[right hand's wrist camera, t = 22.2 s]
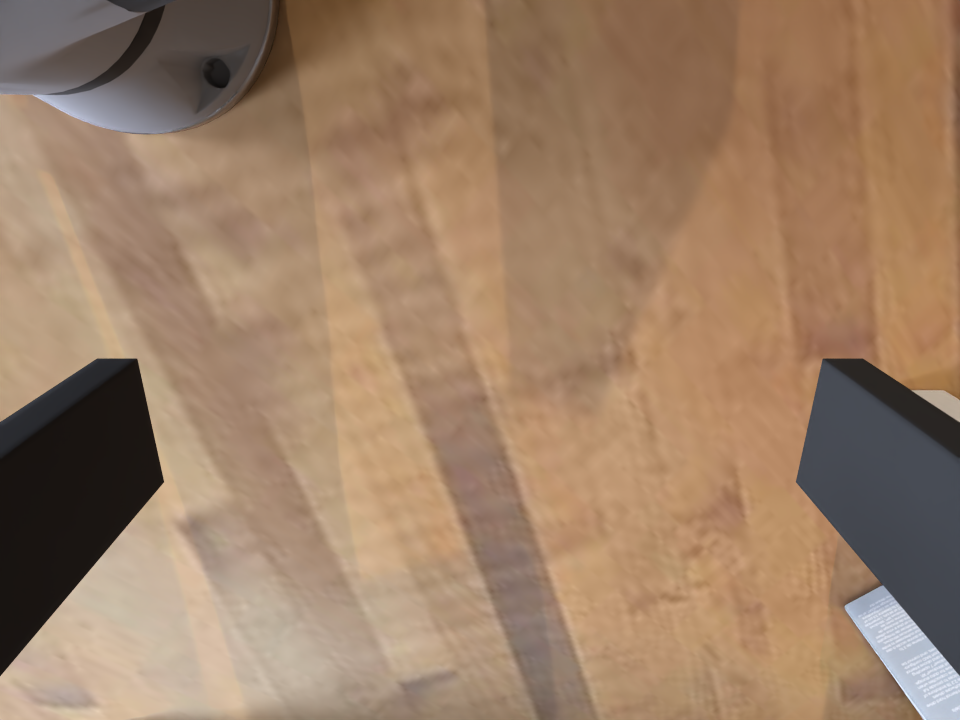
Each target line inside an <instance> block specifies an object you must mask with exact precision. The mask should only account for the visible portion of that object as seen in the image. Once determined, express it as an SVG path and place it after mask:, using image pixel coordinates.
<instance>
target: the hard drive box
mask: <svg viewBox="0 0 960 720" xmlns="http://www.w3.org/2000/svg"><path fill="white" fill-rule="evenodd" d="M845 609H846V611H847V612H848V614H849V615H850V617H851V618H852V620H853V621H854V623H855V624H856V625H857V627H858V628H859V630H860V631H861V632H862V634H863V635H864V636H865V638H866V639H867V641H868V642H869V643H870V645H871V646H872V647H873V649H874V650H875V652H876V653H877V654H878V656H879V657H880V659H881V660H882V661H883V663H884V664H885V666H886V667H887V669H888V670H889V671H890V673H891V674H892V676H893V677H894V678H895V680H896V681H897V683H898V684H899V686H900V687H901V688H902V690H903V691H904V693H905V694H906V696H907V697H908V698H909V700H910V701H911V703H912V704H913V706H914V707H915V708H916V710H917V711H918V713H919V714H920V716H921V717H922V718H923V720H960V676H959V675H958V673H957V672H956V671H955V670H954V669H953V668H952V666H951V665H950V664H949V663H948V662H947V660H946V659H945V658H944V657H943V656H942V654H941V653H940V652H939V651H938V650H937V649H936V647H935V646H934V645H933V644H932V643H931V641H930V640H929V639H928V638H927V637H926V636H925V634H924V633H923V632H922V631H921V630H920V628H919V627H918V626H917V625H916V624H915V622H914V621H913V620H912V619H911V618H910V617H909V615H908V614H907V613H906V612H905V611H904V609H903V608H902V607H901V606H900V605H899V604H898V602H897V601H896V600H895V599H894V598H893V596H892V595H891V594H890V593H889V592H888V590H887V589H886V588H885V587H884V586H883V585H882V586H880V587H878V588H876V589H875V590H873V591H871V592H869V593H867V594H865V595H863V596H861V597H860V598H858V599H856V600H854V601H852V602H850V603H848V604H847V605H846V606H845Z"/></svg>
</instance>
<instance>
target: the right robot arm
mask: <svg viewBox="0 0 960 720" xmlns="http://www.w3.org/2000/svg"><path fill="white" fill-rule="evenodd" d="M278 14H279V0H0V94H22V95H34V96H36V97H38V98H39V99H41V100H43V101H45V102H47V103H48V104H50V105H52V106H54V107H56V108H57V109H59V110H61V111H63V112H65V113H67V114H69V115H71V116H73V117H75V118H77V119H80V120H82V121H84V122H87V123H90V124H93V125H96V126H100V127H103V128H107V129H111V130H115V131H119V132H125V133H132V134H162V133H173V132H179V131H185V130H189V129H192V128H196V127H199V126H201V125H204V124H206V123H208V122H210V121H212V120H214V119H216V118H218V117H220V116H221V115H223V114H224V113H225V112H227V111H228V110H230V109H231V108H232V107H233V106H234V105H235V104H237V103H238V102H239V101H240V100H241V99H242V98H243V97H244V95H245V94H246V93H247V92H248V91H249V90H250V88H251V87H252V86H253V84H254V83H255V81H256V80H257V78H258V77H259V75H260V73H261V71H262V69H263V68H264V66H265V63H266V61H267V59H268V56H269V54H270V51H271V48H272V45H273V41H274V37H275V33H276V28H277V22H278ZM163 483H164V480H163V475H162V470H161V466H160V461H159V457H158V452H157V447H156V443H155V438H154V434H153V429H152V424H151V420H150V415H149V411H148V406H147V401H146V397H145V392H144V388H143V383H142V379H141V374H140V369H139V365H138V360H137V359H96V360H94V361H93V362H91V363H90V364H88V365H87V366H85V367H84V368H82V369H81V370H79V371H78V372H76V373H75V374H73V375H72V376H70V377H68V378H67V379H65V380H64V381H62V382H61V383H59V384H58V385H56V386H55V387H53V388H52V389H50V390H49V391H47V392H46V393H44V394H43V395H41V396H40V397H38V398H36V399H35V400H33V401H32V402H30V403H29V404H27V405H26V406H24V407H23V408H21V409H20V410H18V411H17V412H15V413H14V414H12V415H11V416H9V417H7V418H6V419H4V420H3V421H1V422H0V676H1V675H2V673H3V672H4V671H5V670H6V669H7V668H8V666H9V665H10V664H11V663H12V662H13V660H14V659H15V658H16V657H17V656H18V654H19V653H20V652H21V651H22V650H23V649H24V647H25V646H26V645H27V644H28V643H29V641H30V640H31V639H32V638H33V637H34V636H35V634H36V633H37V632H38V631H39V630H40V628H41V627H42V626H43V625H44V624H45V622H46V621H47V620H48V619H49V618H50V617H51V615H52V614H53V613H54V612H55V611H56V609H57V608H58V607H59V606H60V605H61V604H62V602H63V601H64V600H65V599H66V598H67V596H68V595H69V594H70V593H71V592H72V590H73V589H74V588H75V587H76V586H77V585H78V583H79V582H80V581H81V580H82V579H83V577H84V576H85V575H86V574H87V573H88V572H89V570H90V569H91V568H92V567H93V566H94V564H95V563H96V562H97V561H98V560H99V558H100V557H101V556H102V555H103V554H104V553H105V551H106V550H107V549H108V548H109V547H110V545H111V544H112V543H113V542H114V541H115V540H116V538H117V537H118V536H119V535H120V534H121V532H122V531H123V530H124V529H125V528H126V526H127V525H128V524H129V523H130V522H131V521H132V519H133V518H134V517H135V516H136V515H137V513H138V512H139V511H140V510H141V509H142V508H143V506H144V505H145V504H146V503H147V502H148V500H149V499H150V498H151V497H152V496H153V494H154V493H155V492H156V491H157V490H158V489H159V487H160V486H161V485H162V484H163ZM796 483H797V484H798V485H799V486H800V487H801V489H802V490H803V491H804V492H805V493H806V494H807V496H808V497H809V498H810V499H811V500H812V502H813V503H814V504H815V505H816V506H817V508H818V509H819V510H820V511H821V512H822V513H823V515H824V516H825V517H826V518H827V519H828V521H829V522H830V523H831V524H832V525H833V526H834V528H835V529H836V530H837V531H838V532H839V534H840V535H841V536H842V537H843V538H844V540H845V541H846V542H847V543H848V544H849V545H850V547H851V548H852V549H853V550H854V551H855V553H856V554H857V555H858V556H859V557H860V558H861V560H862V561H863V562H864V563H865V564H866V566H867V567H868V568H869V569H870V570H871V572H872V573H873V574H874V575H875V576H876V577H877V579H878V580H879V581H880V582H881V583H882V585H883V586H884V587H885V588H886V589H887V590H888V592H889V593H890V594H891V595H892V596H893V598H894V599H895V600H896V601H897V602H898V604H899V605H900V606H901V607H902V608H903V609H904V611H905V612H906V613H907V614H908V615H909V617H910V618H911V619H912V620H913V621H914V622H915V624H916V625H917V626H918V627H919V628H920V630H921V631H922V632H923V633H924V634H925V636H926V637H927V638H928V639H929V640H930V641H931V643H932V644H933V645H934V646H935V647H936V649H937V650H938V651H939V652H940V653H941V654H942V656H943V657H944V658H945V659H946V660H947V662H948V663H949V664H950V665H951V666H952V668H953V669H954V670H955V671H956V672H957V673H958V675H959V676H960V422H959V421H957V420H956V419H954V418H952V417H951V416H949V415H948V414H946V413H945V412H943V411H942V410H940V409H939V408H937V407H936V406H934V405H933V404H931V403H930V402H928V401H927V400H925V399H924V398H922V397H920V396H919V395H917V394H916V393H914V392H913V391H911V390H910V389H908V388H907V387H905V386H904V385H902V384H901V383H899V382H898V381H896V380H895V379H893V378H892V377H890V376H888V375H887V374H885V373H884V372H882V371H881V370H879V369H878V368H876V367H875V366H873V365H872V364H870V363H869V362H867V361H866V360H864V359H823V360H822V365H821V369H820V374H819V379H818V383H817V388H816V392H815V397H814V401H813V406H812V411H811V415H810V420H809V424H808V429H807V434H806V438H805V443H804V447H803V452H802V457H801V461H800V466H799V470H798V475H797V480H796Z"/></svg>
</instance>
